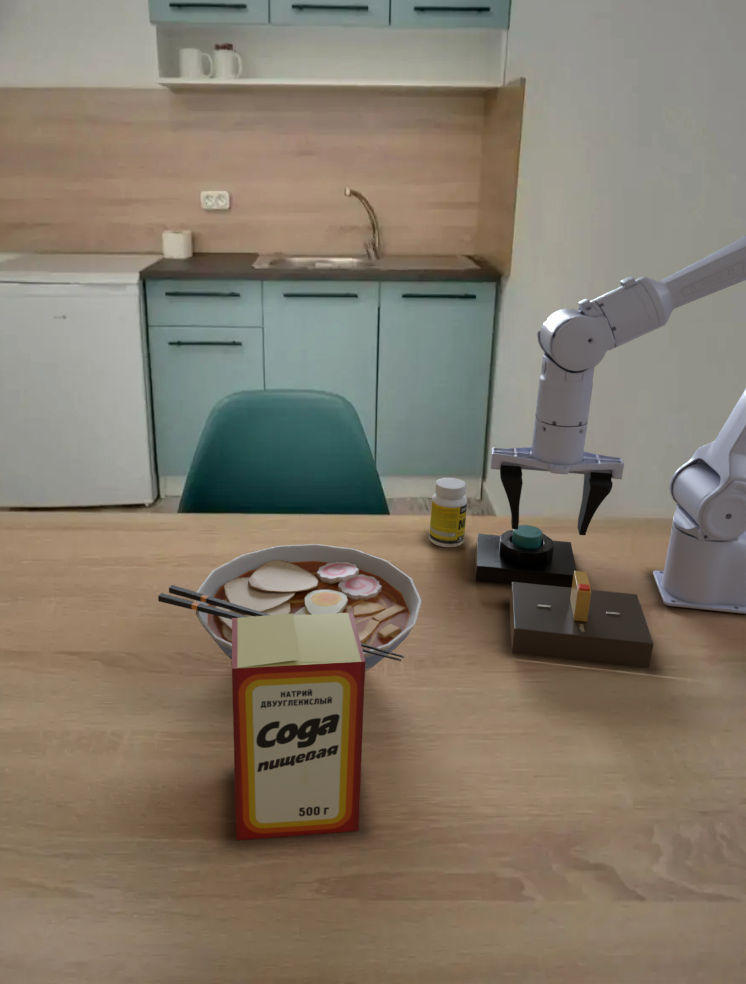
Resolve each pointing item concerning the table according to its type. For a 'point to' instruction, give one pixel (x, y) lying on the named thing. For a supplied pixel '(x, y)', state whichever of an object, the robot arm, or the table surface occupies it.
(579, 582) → the lock knob
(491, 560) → the block
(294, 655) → the baking soda box
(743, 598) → the robot arm
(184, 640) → the table surface
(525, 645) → the lock plate
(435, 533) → the supplement bottle
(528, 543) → the bell button
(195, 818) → the table surface
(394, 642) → the ramen bowl
